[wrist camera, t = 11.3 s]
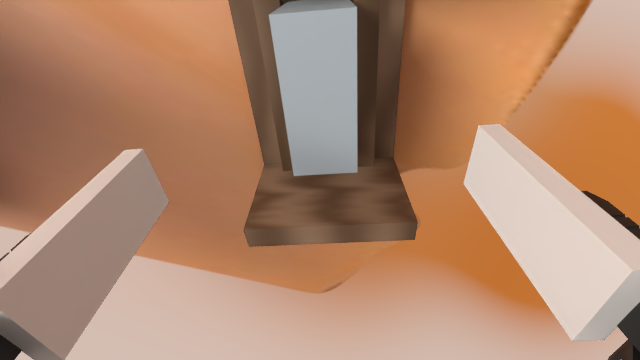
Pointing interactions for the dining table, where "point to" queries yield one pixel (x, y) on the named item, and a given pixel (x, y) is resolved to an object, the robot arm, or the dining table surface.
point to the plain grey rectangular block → (318, 83)
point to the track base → (372, 139)
